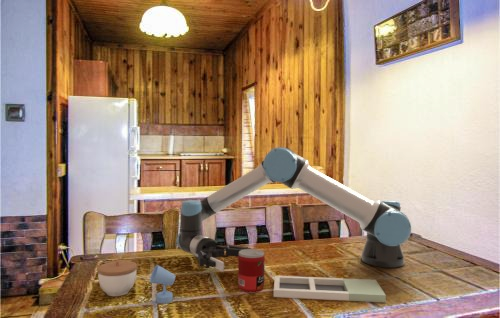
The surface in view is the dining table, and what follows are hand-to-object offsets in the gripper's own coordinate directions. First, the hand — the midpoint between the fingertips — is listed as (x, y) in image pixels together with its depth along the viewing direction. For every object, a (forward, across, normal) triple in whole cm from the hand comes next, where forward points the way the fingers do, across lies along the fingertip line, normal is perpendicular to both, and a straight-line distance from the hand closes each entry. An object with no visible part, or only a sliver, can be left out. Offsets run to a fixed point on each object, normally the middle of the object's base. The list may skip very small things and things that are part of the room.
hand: (241, 262), depth 115 cm
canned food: (+4, 0, -7) cm, 8 cm away
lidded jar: (-17, +32, -7) cm, 37 cm away
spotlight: (-4, +25, -7) cm, 26 cm away
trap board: (+20, -16, -7) cm, 27 cm away
